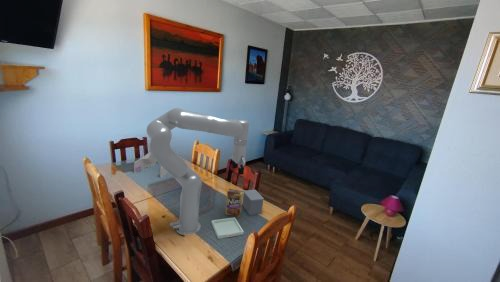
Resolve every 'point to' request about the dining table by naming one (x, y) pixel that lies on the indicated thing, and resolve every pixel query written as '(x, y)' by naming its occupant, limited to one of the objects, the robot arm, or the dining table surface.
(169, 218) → the dining table surface
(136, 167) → the casing
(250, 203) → the block
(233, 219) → the tray
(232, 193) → the candy box
